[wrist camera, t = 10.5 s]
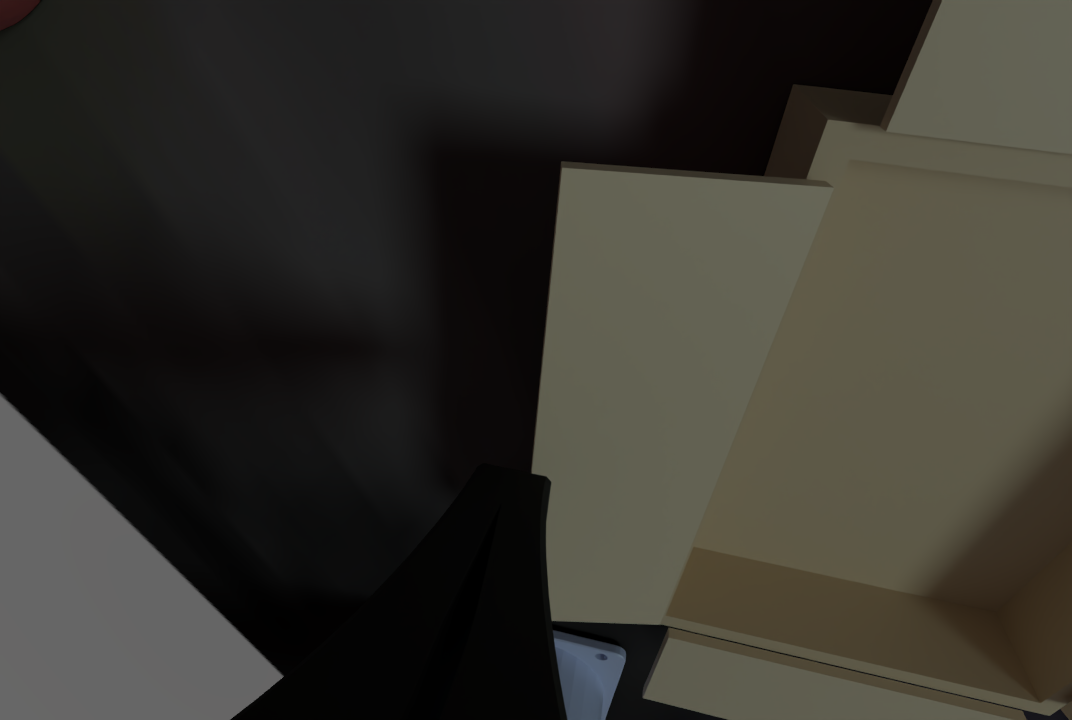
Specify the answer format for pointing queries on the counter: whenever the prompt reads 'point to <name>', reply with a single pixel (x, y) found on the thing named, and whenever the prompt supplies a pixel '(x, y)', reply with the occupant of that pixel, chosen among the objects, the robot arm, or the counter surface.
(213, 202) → the counter surface
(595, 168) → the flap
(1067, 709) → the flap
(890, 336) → the carton
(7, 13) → the flower pot
